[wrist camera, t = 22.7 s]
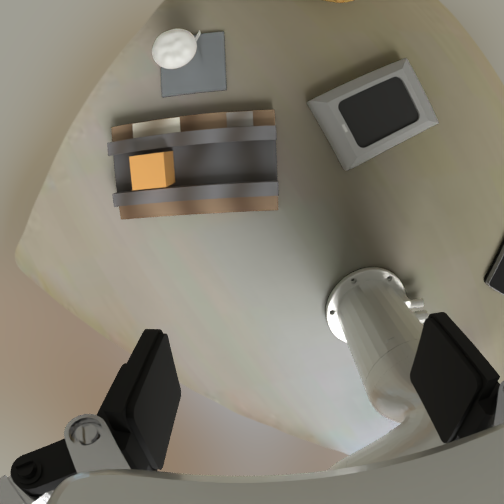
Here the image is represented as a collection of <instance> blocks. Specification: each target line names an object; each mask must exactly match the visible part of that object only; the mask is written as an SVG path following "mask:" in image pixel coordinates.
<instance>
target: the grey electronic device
mask: <svg viewBox="0 0 504 504" xmlns="http://www.w3.org/2000/svg"><path fill="white" fill-rule="evenodd" d="M307 105H308V106H309V108H310V110H311V111H312V113H313V115H314V117H315V118H316V120H317V122H318V123H319V125H320V127H321V129H322V131H323V132H324V134H325V136H326V138H327V140H328V141H329V143H330V145H331V147H332V149H333V151H334V152H335V154H336V156H337V158H338V160H339V162H340V164H341V166H342V168H343V169H344V170H346V171H347V170H350V169H352V168H354V167H356V166H358V165H360V164H362V163H363V162H365V161H367V160H369V159H371V158H373V157H375V156H377V155H378V154H380V153H382V152H384V151H386V150H388V149H390V148H392V147H394V146H396V145H397V144H399V143H401V142H403V141H405V140H407V139H409V138H411V137H413V136H415V135H417V134H419V133H420V132H422V131H424V130H426V129H428V128H430V127H432V126H434V125H436V124H438V123H439V122H438V120H437V117H436V115H435V113H434V111H433V109H432V106H431V104H430V102H429V100H428V98H427V96H426V94H425V92H424V90H423V88H422V86H421V84H420V82H419V80H418V78H417V76H416V74H415V72H414V70H413V68H412V67H411V65H410V63H409V61H408V59H407V58H404V59H401V60H399V61H396V62H394V63H391V64H389V65H386V66H384V67H381V68H379V69H377V70H374V71H372V72H370V73H367V74H365V75H363V76H361V77H358V78H356V79H354V80H352V81H349V82H347V83H345V84H343V85H341V86H339V87H336V88H334V89H332V90H330V91H328V92H326V93H324V94H322V95H320V96H318V97H316V98H314V99H312V100H310V101H308V102H307Z"/></svg>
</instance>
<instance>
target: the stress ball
mask: <svg viewBox="0 0 504 504" xmlns="http://www.w3.org/2000/svg"><path fill="white" fill-rule="evenodd" d="M325 1H329V2H336V3H343V2H350V1H354V0H325Z"/></svg>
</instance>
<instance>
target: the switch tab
mask: <svg viewBox="0 0 504 504" xmlns="http://www.w3.org/2000/svg"><path fill="white" fill-rule="evenodd" d="M129 161H130V171H131V181H132V190H142V189H152V188H162V187H167V186H169V185H171V184H173V183H175V171H174V159H173V151H168V152H159V153H151V154H144V155H137V156H130V157H129Z"/></svg>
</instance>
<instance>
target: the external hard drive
mask: <svg viewBox="0 0 504 504" xmlns="http://www.w3.org/2000/svg"><path fill="white" fill-rule="evenodd" d="M484 282H485V283H486V284H487V285H488V286H490V287H491V288H493V289H494V290H495V291H498V292H499V293H501V294H502V295H504V240H503V242H502V245H501V247H500V249H499V251H498V253H497V255H496V257H495V259H494V261H493V263H492V265H491V267H490V269H489V271H488V273H487V275H486V277H485V279H484Z"/></svg>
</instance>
